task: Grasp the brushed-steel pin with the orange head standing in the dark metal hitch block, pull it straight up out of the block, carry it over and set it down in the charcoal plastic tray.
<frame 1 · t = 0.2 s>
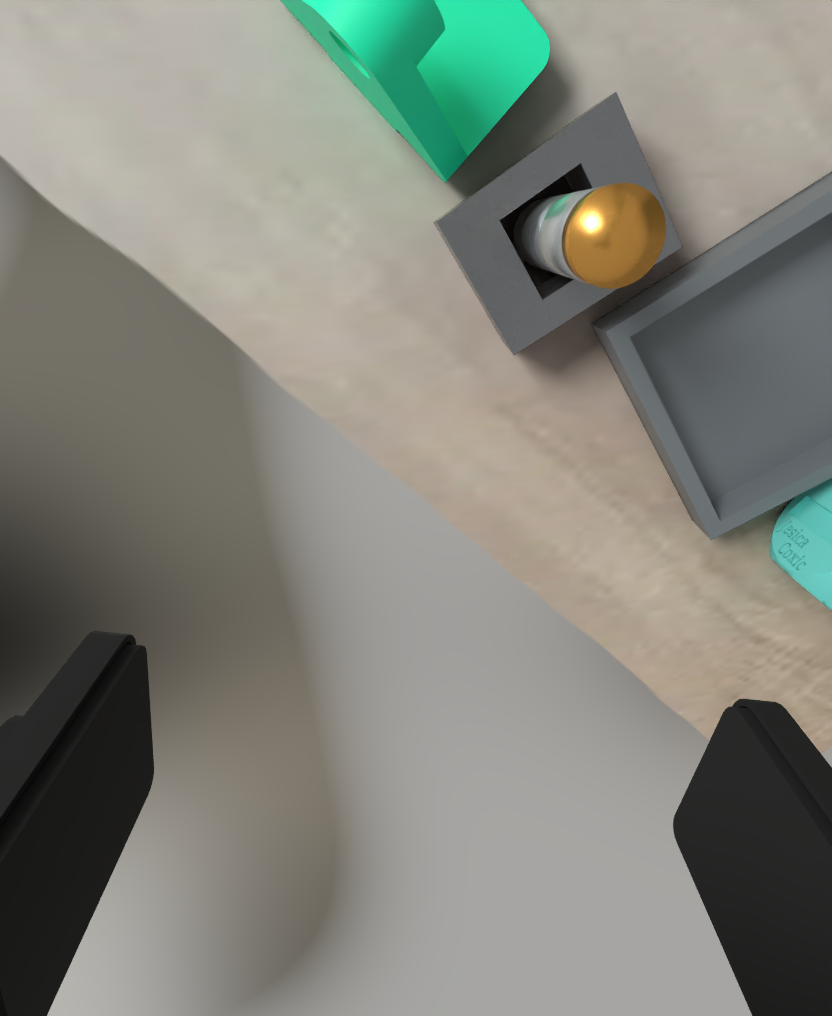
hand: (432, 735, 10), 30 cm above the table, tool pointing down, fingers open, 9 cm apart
tray: (762, 361, 37), on the table
decorative dice: (827, 524, 43), on the table
green mounting bracket: (413, 31, 30), on the table
pin: (573, 235, 28), in the hitch block
hitch block: (544, 233, 34), on the table
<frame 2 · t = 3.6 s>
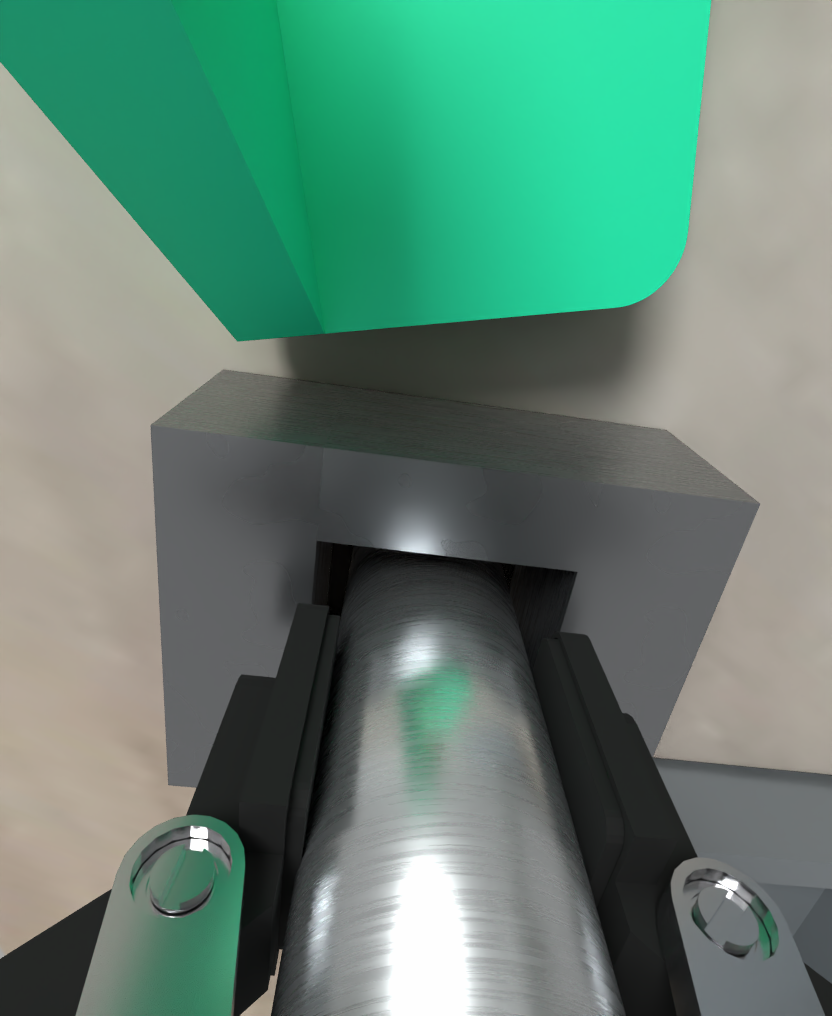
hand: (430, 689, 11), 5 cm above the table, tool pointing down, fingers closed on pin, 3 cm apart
tray: (588, 918, 21), on the table
pin: (434, 774, 9), in the hitch block, touching gripper
hitch block: (424, 555, 15), on the table
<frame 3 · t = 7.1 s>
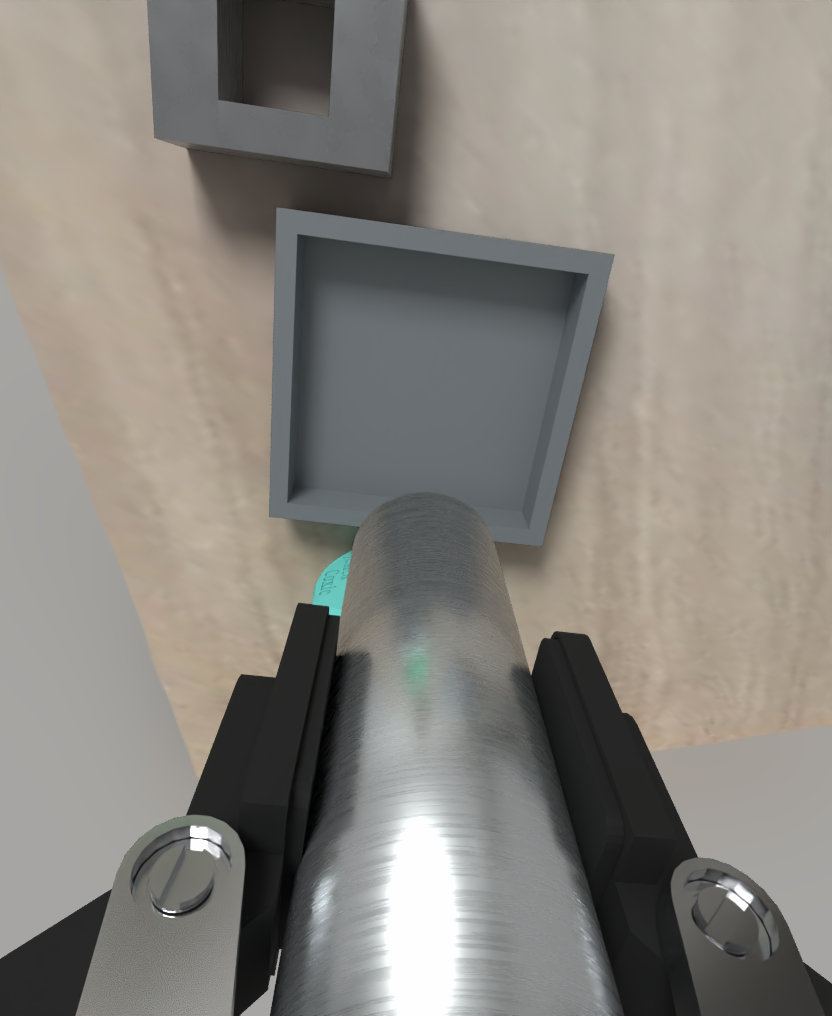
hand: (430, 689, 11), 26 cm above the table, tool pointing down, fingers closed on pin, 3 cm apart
tray: (424, 384, 34), on the table
decorative dice: (397, 587, 40), on the table
pin: (433, 775, 9), point 27 cm above the table, touching gripper
hitch block: (292, 64, 28), on the table
when the fingers open (6 cm above the table, at t = 11.1 s): pin stays where it is, resting on tray.
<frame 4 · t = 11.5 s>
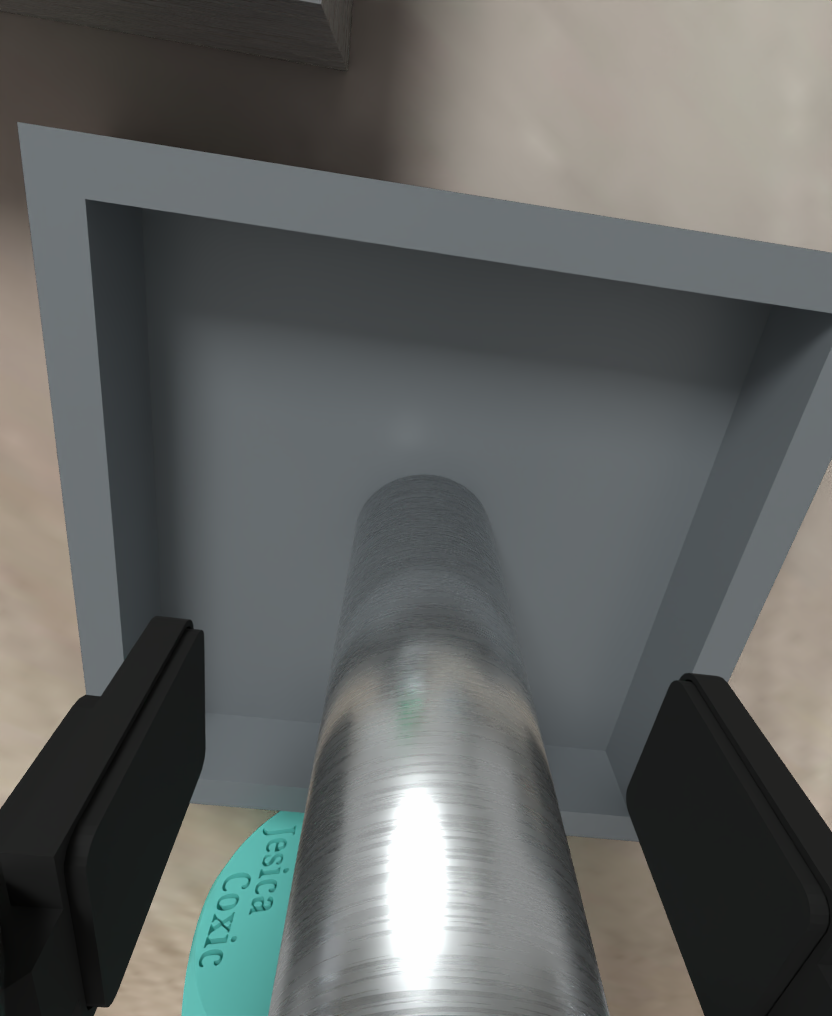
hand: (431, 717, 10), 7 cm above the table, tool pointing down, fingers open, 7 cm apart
tray: (422, 526, 16), on the table
decorative dice: (369, 849, 23), on the table
pin: (428, 730, 10), in the tray, point 7 cm above the table
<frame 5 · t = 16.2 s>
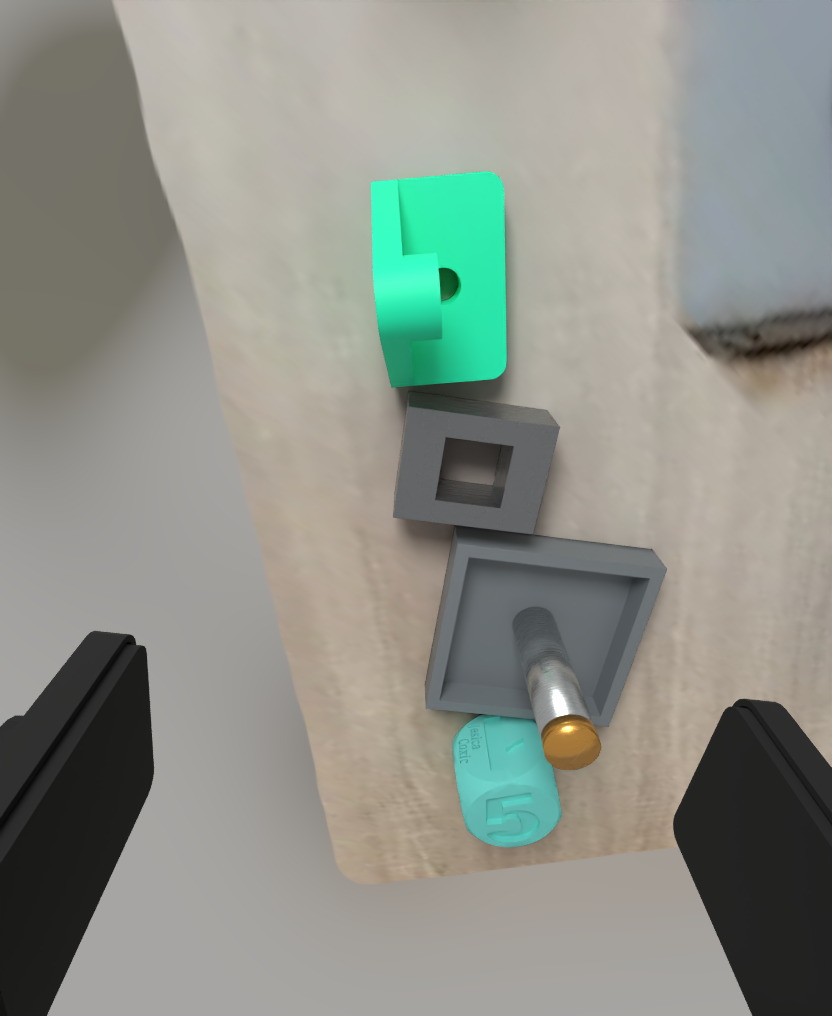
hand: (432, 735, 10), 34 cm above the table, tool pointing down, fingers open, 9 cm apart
tray: (532, 620, 50), on the table
decorative dice: (499, 739, 57), on the table
green mounting bracket: (441, 282, 39), on the table
pin: (550, 678, 44), in the tray, point 7 cm above the table
hitch block: (468, 453, 44), on the table
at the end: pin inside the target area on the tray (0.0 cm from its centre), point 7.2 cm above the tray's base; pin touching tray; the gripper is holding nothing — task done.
